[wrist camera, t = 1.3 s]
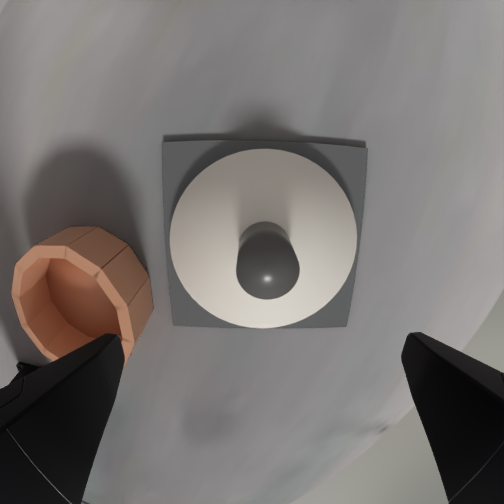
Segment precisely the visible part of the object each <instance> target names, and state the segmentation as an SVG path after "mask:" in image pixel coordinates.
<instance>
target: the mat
mask: <svg viewBox="0 0 504 504" xmlns="http://www.w3.org/2000/svg"><path fill="white" fill-rule="evenodd" d="M252 149H276V150H283V151H287V152H291V153H295V154H297V155H300V156H302V157H305V158H307V159H309V160H310V161H312V162H314V163H316V164H317V165H319V166H320V167H321V168H323V169H324V170H325V171H326V172H328V173H329V174H330V175H331V176H332V177H333V178H334V179H335V181H336V182H337V183H338V184H339V186H340V187H341V188H342V190H343V191H344V193H345V195H346V197H347V199H348V200H349V202H350V205H351V208H352V210H353V213H354V218H355V222H356V230H357V246H356V253H355V258H354V262H353V265H352V268H351V271H350V273H349V275H348V277H347V279H346V281H345V282H344V284H343V285H342V287H341V288H340V290H339V291H338V292H337V294H336V295H335V296H334V297H333V298H332V299H331V300H330V301H329V302H328V303H327V304H326V305H325V306H324V307H322V308H321V309H320V310H318V311H317V312H316V313H314V314H312V315H310V316H309V317H307V318H305V319H303V320H300V321H298V322H295V323H292V324H289V325H285V326H280V327H274V328H328V327H347V322H348V316H349V311H350V305H351V300H352V294H353V287H354V281H355V275H356V268H357V261H358V253H359V245H360V237H361V228H362V219H363V209H364V198H365V185H366V171H367V153H368V148H361V147H352V146H342V145H332V144H319V143H305V142H287V141H259V140H203V141H176V142H162V177H163V207H164V226H165V242H166V256H167V269H168V280H169V290H170V300H171V309H172V318H173V325H175V326H194V327H219V328H250V327H244V326H239V325H236V324H232V323H229V322H227V321H224V320H222V319H220V318H218V317H216V316H214V315H213V314H211V313H209V312H208V311H207V310H205V309H204V308H203V307H201V306H200V305H199V304H198V303H197V302H196V301H195V300H194V299H193V298H192V297H191V296H190V294H189V293H188V292H187V291H186V289H185V288H184V286H183V285H182V283H181V281H180V279H179V278H178V275H177V273H176V270H175V268H174V265H173V261H172V257H171V251H170V228H171V222H172V218H173V214H174V211H175V208H176V206H177V204H178V202H179V199H180V197H181V196H182V194H183V193H184V191H185V189H186V188H187V187H188V185H189V184H190V183H191V182H192V181H193V180H194V178H195V177H196V176H197V175H199V174H200V173H201V172H202V171H203V170H204V169H205V168H207V167H208V166H210V165H211V164H213V163H214V162H216V161H218V160H220V159H222V158H224V157H226V156H228V155H232V154H235V153H238V152H241V151H246V150H252Z"/></svg>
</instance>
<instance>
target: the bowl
mask: <svg viewBox="0 0 504 504" xmlns="http://www.w3.org/2000/svg"><path fill="white" fill-rule="evenodd" d="M11 295H12V298H13V302H14V305H15V308H16V311H17V315H18V318H19V321H20V324H21V325H22V328H23V329H24V330H25V332H26V333H27V334H28V336H29V337H30V339H31V340H32V341H33V342H34V344H35V345H36V346H37V348H38V349H39V350H40V351H41V353H43V355H45V356H46V357H48V358H49V359H51V360H52V361H55V360H57V359H59V358H60V357H62V356H64V355H66V354H68V353H70V352H72V351H74V350H75V349H77V348H79V347H81V346H83V345H85V344H87V343H89V342H90V341H92V340H94V339H96V338H98V337H100V336H102V335H104V334H105V333H112V334H118V335H119V337H120V339H121V343H122V347H123V351H124V355H125V363H124V366H125V364H126V362H127V360H128V358H129V356H130V355H131V353H132V351H133V349H134V347H135V345H136V343H137V341H138V339H139V337H140V335H141V334H142V332H143V330H144V327H145V325H146V323H147V321H148V319H149V317H150V315H151V313H152V311H153V309H154V308H153V301H152V293H151V285H150V277H149V275H148V273H147V272H146V270H145V269H144V267H143V266H142V264H141V263H140V261H139V260H138V258H137V257H136V255H135V254H134V252H133V250H132V249H131V247H130V246H129V245H128V244H127V243H125V242H124V241H122V240H120V239H119V238H117V237H115V236H114V235H112V234H110V233H109V232H107V231H105V230H104V229H102V228H100V227H98V226H86V227H68V228H66V229H64V230H62V231H60V232H58V233H57V234H55V235H53V236H51V237H49V238H47V239H45V240H44V241H42V242H40V243H38V244H36V245H35V246H33V247H32V248H31V249H30V250H29V251H28V252H27V253H26V254H25V255H24V256H23V257H22V258H21V259H20V260H19V261H18V262H17V263H16V265H15V270H14V277H13V284H12V292H11ZM123 368H124V367H123Z"/></svg>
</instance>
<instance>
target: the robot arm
mask: <svg viewBox="0 0 504 504" xmlns="http://www.w3.org/2000/svg"><path fill="white" fill-rule="evenodd" d="M401 360H402V364H403V367H404V370H405V374H406V377H407V381H408V384H409V388H410V391H411V395H412V398H413V400H414V403H415V406H416V408H417V411H418V413H419V416H420V419H421V421H422V424H423V427H424V429H425V432H426V435H427V437H428V440H429V443H430V446H431V449H432V452H433V455H434V457H435V460H436V463H437V466H438V470H439V472H440V476H441V479H442V482H443V486H444V489H445V492H446V496H447V499H448V502H449V504H504V373H502V372H500V371H498V370H496V369H494V368H492V367H490V366H488V365H486V364H484V363H482V362H480V361H478V360H476V359H474V358H472V357H470V356H468V355H466V354H464V353H462V352H460V351H458V350H456V349H454V348H452V347H450V346H448V345H446V344H444V343H442V342H440V341H438V340H436V339H433V338H431V337H429V336H427V335H425V334H423V333H421V332H414V333H409V334H408V336H407V338H406V341H405V344H404V348H403V351H402V355H401ZM124 363H125V355H124V351H123V347H122V343H121V339H120V337H119V335H118V334H112V333H105V334H104V335H102V336H100V337H98V338H96V339H94V340H92V341H90V342H89V343H87V344H85V345H83V346H81V347H79V348H77V349H75V350H74V351H72V352H70V353H68V354H66V355H64V356H62V357H60V358H59V359H57V360H55V361H53V362H51V363H49V364H47V365H45V366H44V367H42V368H38V367H35V366H31V365H28V364H24V363H21V362H18V363H17V365H16V366H17V369H18V371H19V373H18V374H17V375H16V376H15V377H14V379H13V380H12V381H11V382H10V384H9V385H7V386H5V387H3V388H1V389H0V504H81V501H82V498H83V494H84V491H85V488H86V484H87V481H88V478H89V475H90V471H91V468H92V465H93V462H94V459H95V456H96V453H97V450H98V447H99V444H100V441H101V438H102V435H103V432H104V429H105V427H106V424H107V421H108V418H109V416H110V413H111V410H112V407H113V404H114V402H115V398H116V394H117V390H118V386H119V382H120V378H121V374H122V371H123V367H124Z"/></svg>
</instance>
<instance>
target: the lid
mask: <svg viewBox="0 0 504 504" xmlns="http://www.w3.org/2000/svg"><path fill="white" fill-rule="evenodd" d="M356 246H357V230H356V222H355V218H354V213H353V210H352V208H351V205H350V202H349V200H348V199H347V197H346V195H345V193H344V191H343V190H342V188H341V187H340V186H339V184H338V183H337V182H336V181H335V179H334V178H333V177H332V176H331V175H330V174H329V173H328V172H326V171H325V170H324V169H323V168H321V167H320V166H319V165H317V164H316V163H314V162H312V161H310V160H309V159H307V158H305V157H302V156H300V155H297V154H295V153H291V152H287V151H283V150H276V149H252V150H246V151H241V152H238V153H235V154H232V155H228V156H226V157H224V158H222V159H220V160H218V161H216V162H214V163H213V164H211V165H210V166H208V167H207V168H205V169H204V170H203V171H202V172H201V173H200V174H199V175H197V176H196V177H195V178H194V180H193V181H192V182H191V183H190V184H189V185H188V187H187V188H186V189H185V191H184V193H183V194H182V196H181V197H180V199H179V202H178V204H177V206H176V208H175V211H174V214H173V218H172V222H171V228H170V251H171V257H172V261H173V265H174V268H175V270H176V273H177V275H178V278H179V279H180V281H181V283H182V285H183V286H184V288H185V289H186V291H187V292H188V293H189V294H190V296H191V297H192V298H193V299H194V300H195V301H196V302H197V303H198V304H199V305H200V306H201V307H203V308H204V309H205V310H207V311H208V312H209V313H211V314H213V315H214V316H216V317H218V318H220V319H222V320H224V321H227V322H229V323H232V324H236V325H239V326H244V327H250V328H274V327H280V326H285V325H289V324H292V323H295V322H298V321H300V320H303V319H305V318H307V317H309V316H310V315H312V314H314V313H316V312H317V311H318V310H320V309H321V308H322V307H324V306H325V305H326V304H327V303H328V302H329V301H330V300H331V299H332V298H333V297H334V296H335V295H336V294H337V292H338V291H339V290H340V288H341V287H342V285H343V284H344V282H345V281H346V279H347V277H348V275H349V273H350V271H351V268H352V265H353V262H354V258H355V253H356Z"/></svg>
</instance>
